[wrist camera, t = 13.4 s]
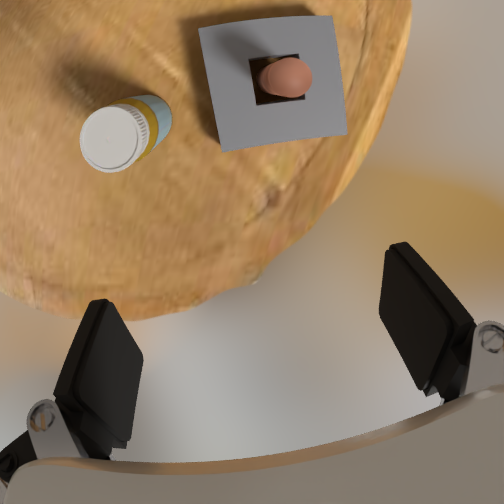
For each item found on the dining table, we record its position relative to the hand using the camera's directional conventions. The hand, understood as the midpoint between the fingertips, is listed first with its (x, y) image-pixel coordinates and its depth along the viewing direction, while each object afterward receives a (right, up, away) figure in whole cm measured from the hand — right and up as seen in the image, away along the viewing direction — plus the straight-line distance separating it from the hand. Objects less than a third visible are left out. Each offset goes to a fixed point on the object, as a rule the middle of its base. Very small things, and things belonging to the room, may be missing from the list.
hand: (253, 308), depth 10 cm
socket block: (+3, +24, +25) cm, 35 cm away
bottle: (-14, +19, +26) cm, 35 cm away
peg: (+2, +24, +25) cm, 35 cm away
